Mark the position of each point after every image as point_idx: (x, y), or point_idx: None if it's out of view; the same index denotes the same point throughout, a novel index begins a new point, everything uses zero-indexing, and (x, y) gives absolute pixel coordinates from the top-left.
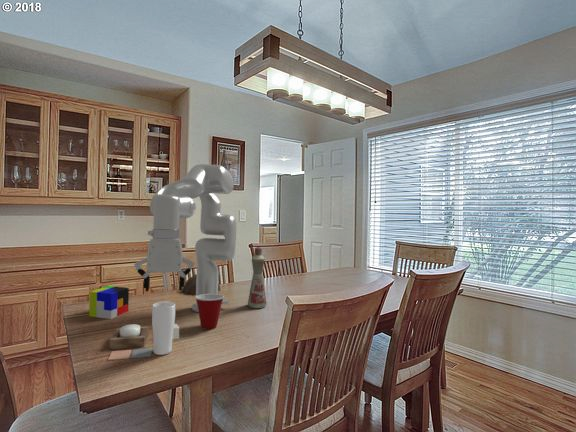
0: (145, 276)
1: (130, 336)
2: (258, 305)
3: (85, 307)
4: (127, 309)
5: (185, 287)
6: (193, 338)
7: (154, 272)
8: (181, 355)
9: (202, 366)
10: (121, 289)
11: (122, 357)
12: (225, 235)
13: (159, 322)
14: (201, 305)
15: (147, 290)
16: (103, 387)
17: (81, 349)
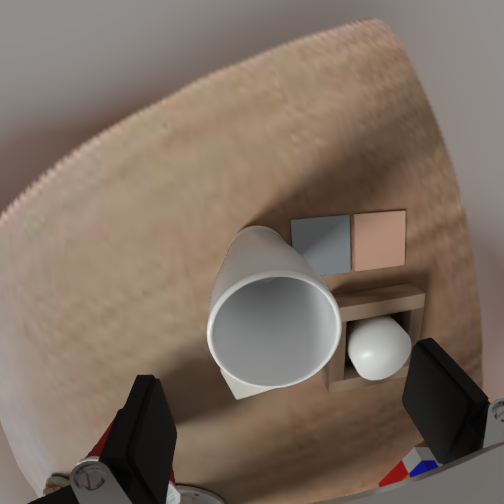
0: (499, 415)
1: (374, 320)
2: (57, 480)
3: None
4: (381, 485)
5: None
6: (173, 344)
7: (465, 457)
8: (189, 220)
9: (115, 140)
10: None
11: (371, 219)
12: None
13: (279, 246)
14: None
15: (420, 344)
16: (369, 60)
17: (465, 286)
